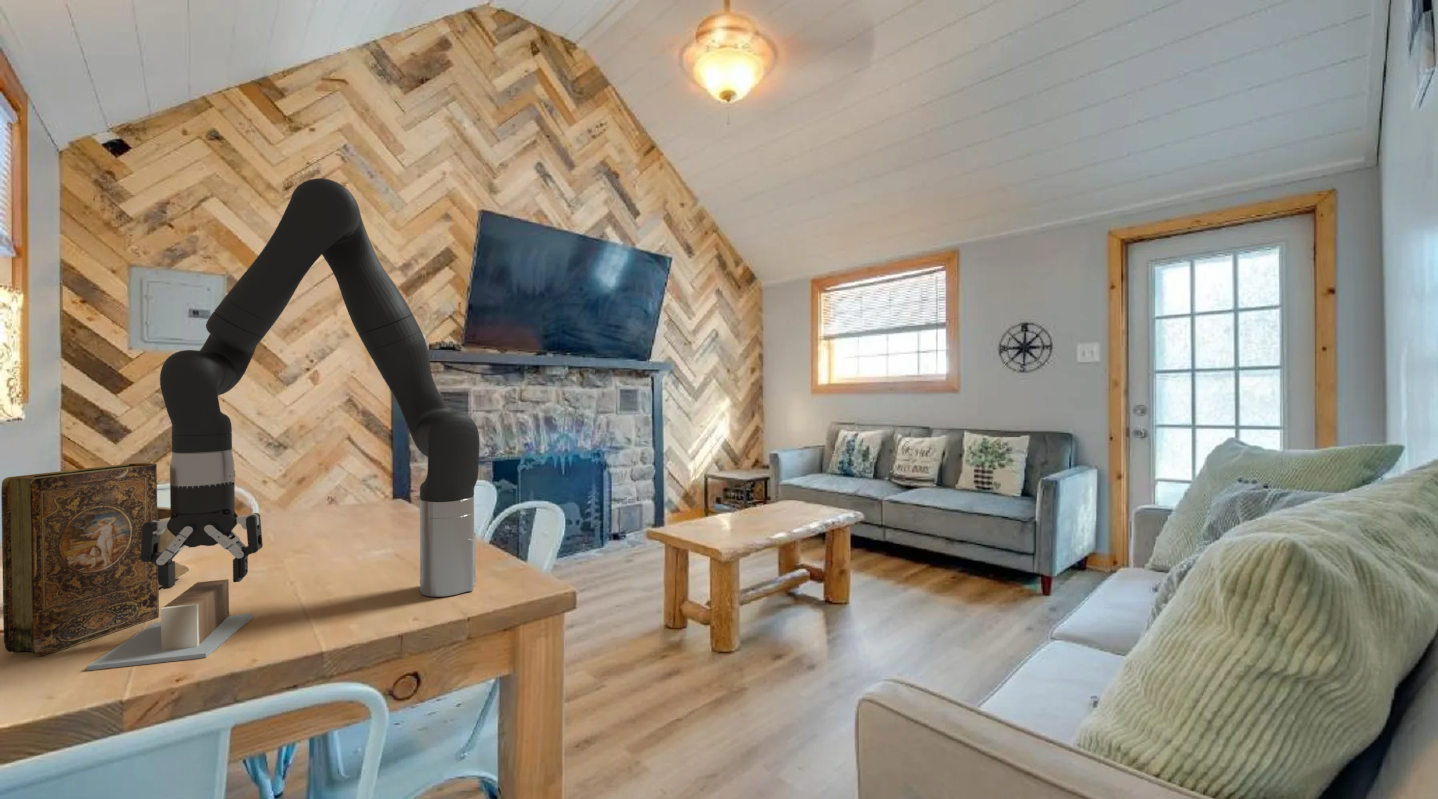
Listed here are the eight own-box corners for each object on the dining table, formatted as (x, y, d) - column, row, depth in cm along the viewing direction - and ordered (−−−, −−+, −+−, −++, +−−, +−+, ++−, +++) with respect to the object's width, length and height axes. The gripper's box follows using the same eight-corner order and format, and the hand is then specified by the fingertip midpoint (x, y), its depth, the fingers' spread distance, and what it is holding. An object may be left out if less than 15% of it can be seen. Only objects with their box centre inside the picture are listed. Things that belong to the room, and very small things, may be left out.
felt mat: (253, 617, 97) (253, 613, 97) (206, 657, 83) (205, 653, 83) (154, 626, 93) (154, 622, 93) (87, 670, 79) (86, 666, 79)
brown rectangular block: (228, 579, 96) (196, 605, 85) (229, 616, 96) (197, 646, 85) (197, 582, 94) (160, 608, 83) (197, 619, 94) (161, 651, 83)
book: (140, 611, 99) (137, 462, 98) (166, 614, 98) (163, 463, 97) (3, 655, 83) (-1, 477, 82) (33, 659, 82) (29, 479, 81)
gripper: (130, 486, 85) (132, 598, 86) (251, 481, 91) (252, 586, 91) (155, 479, 92) (157, 582, 93) (266, 474, 98) (267, 571, 98)
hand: (204, 583), depth 92 cm, fingers open, 8 cm apart
